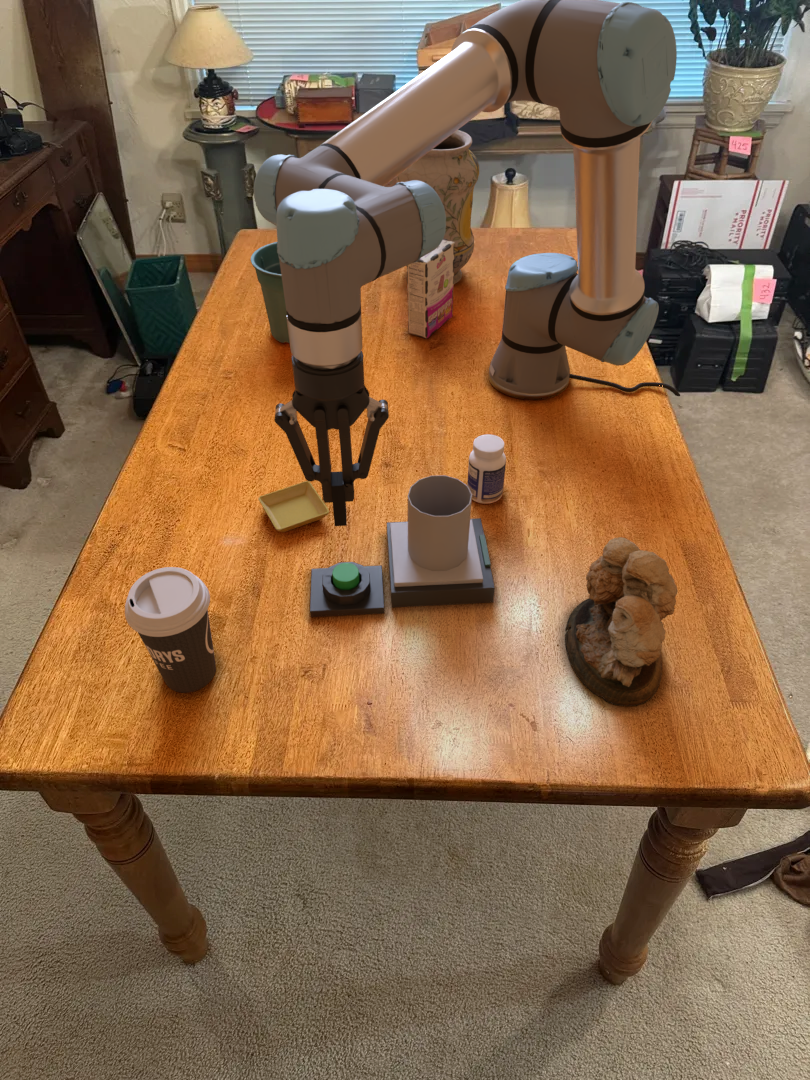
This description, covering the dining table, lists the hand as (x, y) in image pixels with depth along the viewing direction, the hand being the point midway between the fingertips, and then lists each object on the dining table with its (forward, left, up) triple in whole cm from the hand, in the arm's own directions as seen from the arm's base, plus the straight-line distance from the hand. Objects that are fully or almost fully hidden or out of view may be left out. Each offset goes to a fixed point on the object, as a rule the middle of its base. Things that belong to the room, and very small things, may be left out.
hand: (340, 518), depth 96 cm
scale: (-13, -4, -14) cm, 20 cm away
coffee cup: (+20, +12, -14) cm, 27 cm away
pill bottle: (-22, -20, -14) cm, 33 cm away
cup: (-13, -4, -11) cm, 17 cm away
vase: (-21, -98, -14) cm, 101 cm away
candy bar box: (-18, -75, -14) cm, 79 cm away
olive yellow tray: (+8, -17, -14) cm, 24 cm away
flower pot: (+9, -74, -14) cm, 76 cm away
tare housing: (0, 0, -14) cm, 14 cm away
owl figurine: (-34, +12, -14) cm, 39 cm away
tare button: (0, 0, -12) cm, 12 cm away
